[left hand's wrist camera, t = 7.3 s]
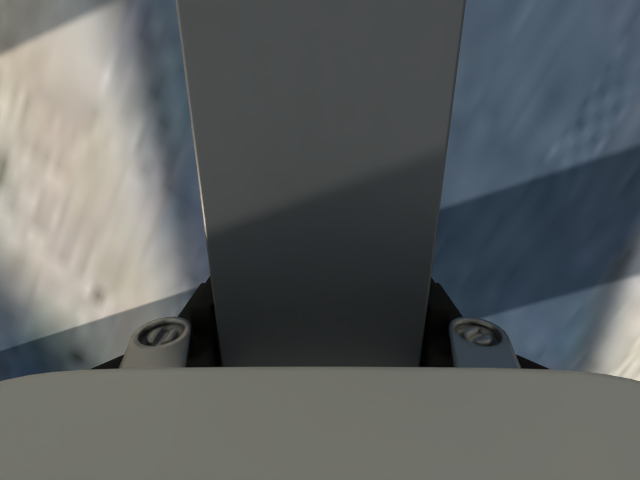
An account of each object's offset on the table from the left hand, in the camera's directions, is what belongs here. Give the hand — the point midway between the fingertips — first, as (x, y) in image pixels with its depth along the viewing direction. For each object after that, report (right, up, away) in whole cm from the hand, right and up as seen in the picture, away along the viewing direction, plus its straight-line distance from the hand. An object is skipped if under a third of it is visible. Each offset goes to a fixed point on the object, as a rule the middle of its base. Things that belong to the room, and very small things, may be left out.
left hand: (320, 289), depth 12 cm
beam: (0, +30, -9) cm, 32 cm away
